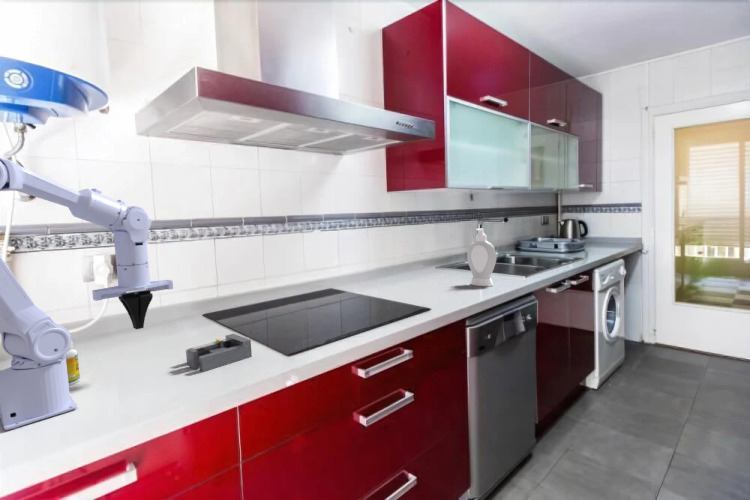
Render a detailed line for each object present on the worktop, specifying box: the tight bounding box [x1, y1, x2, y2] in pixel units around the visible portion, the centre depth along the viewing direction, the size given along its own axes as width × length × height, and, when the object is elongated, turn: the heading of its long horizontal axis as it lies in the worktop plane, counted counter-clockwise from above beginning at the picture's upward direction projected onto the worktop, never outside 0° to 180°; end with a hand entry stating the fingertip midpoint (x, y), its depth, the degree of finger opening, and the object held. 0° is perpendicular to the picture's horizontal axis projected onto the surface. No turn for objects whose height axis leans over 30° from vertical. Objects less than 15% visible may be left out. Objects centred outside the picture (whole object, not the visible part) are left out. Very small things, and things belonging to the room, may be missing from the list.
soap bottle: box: [466, 227, 497, 287], centre depth 169 cm, size 13×8×24 cm, turn 53°
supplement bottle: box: [65, 341, 81, 387], centre depth 81 cm, size 5×5×8 cm
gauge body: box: [185, 333, 253, 373], centre depth 92 cm, size 12×8×4 cm
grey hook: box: [186, 338, 227, 371], centre depth 91 cm, size 8×6×4 cm
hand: (138, 327), depth 85 cm, fingers closed
